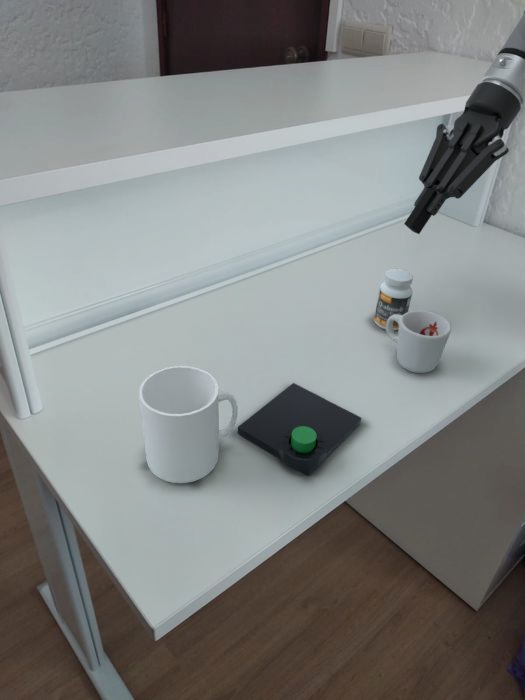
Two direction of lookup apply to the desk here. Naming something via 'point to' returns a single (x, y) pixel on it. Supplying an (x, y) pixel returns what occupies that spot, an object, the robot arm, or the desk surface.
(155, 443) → the mug
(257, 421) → the scale
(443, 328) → the cup
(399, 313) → the pill bottle
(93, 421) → the desk surface
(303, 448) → the tare button
